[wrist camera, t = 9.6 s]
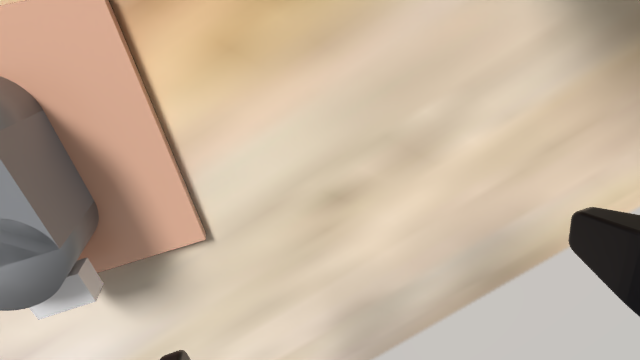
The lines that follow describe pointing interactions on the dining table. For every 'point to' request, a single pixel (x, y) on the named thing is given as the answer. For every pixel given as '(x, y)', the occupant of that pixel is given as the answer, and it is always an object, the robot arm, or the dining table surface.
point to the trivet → (101, 125)
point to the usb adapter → (41, 214)
